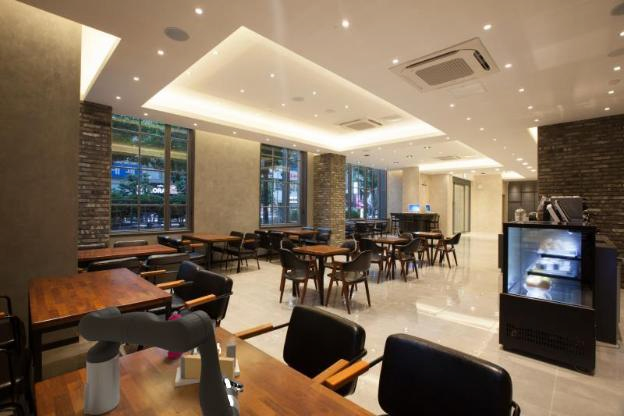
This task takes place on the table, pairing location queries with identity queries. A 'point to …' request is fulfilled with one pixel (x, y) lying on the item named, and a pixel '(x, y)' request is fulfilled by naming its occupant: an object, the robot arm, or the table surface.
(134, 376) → the table surface
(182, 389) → the table surface
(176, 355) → the pepper mill
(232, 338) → the table surface
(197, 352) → the white toothed block
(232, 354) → the white grey slotted rack
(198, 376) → the leaning tan board
